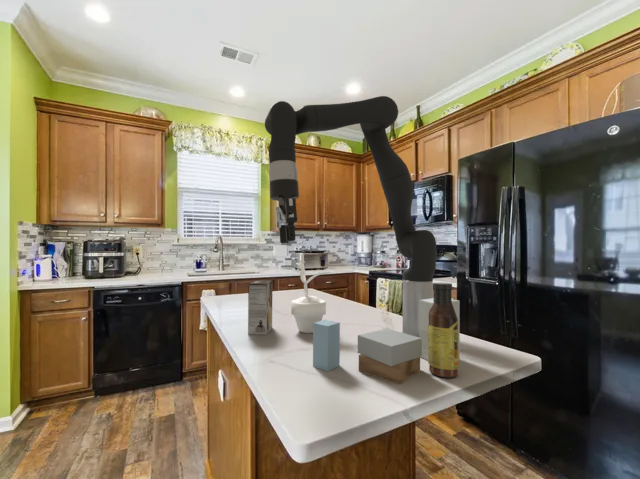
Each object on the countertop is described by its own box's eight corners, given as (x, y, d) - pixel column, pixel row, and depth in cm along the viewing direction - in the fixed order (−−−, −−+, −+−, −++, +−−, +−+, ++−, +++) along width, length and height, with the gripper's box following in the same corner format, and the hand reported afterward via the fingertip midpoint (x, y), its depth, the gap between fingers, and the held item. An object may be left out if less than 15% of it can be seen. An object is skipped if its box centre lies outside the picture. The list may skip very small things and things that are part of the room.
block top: (387, 344, 77) (387, 328, 77) (421, 356, 69) (421, 338, 69) (357, 352, 71) (357, 335, 71) (391, 366, 63) (391, 346, 63)
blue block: (325, 360, 76) (325, 319, 76) (339, 365, 73) (339, 322, 73) (312, 366, 72) (313, 322, 73) (327, 371, 69) (327, 326, 70)
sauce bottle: (461, 380, 65) (461, 285, 66) (430, 377, 66) (430, 284, 67) (454, 368, 72) (454, 281, 72) (426, 366, 73) (426, 281, 73)
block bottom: (381, 360, 77) (381, 344, 77) (420, 371, 71) (420, 353, 71) (358, 373, 70) (358, 355, 70) (399, 386, 63) (399, 366, 63)
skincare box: (442, 352, 82) (442, 296, 83) (461, 360, 77) (461, 299, 77) (417, 357, 79) (418, 298, 79) (436, 365, 73) (436, 302, 74)
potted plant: (285, 334, 98) (286, 255, 99) (297, 325, 110) (298, 254, 110) (324, 337, 95) (324, 255, 96) (332, 328, 106) (333, 254, 107)
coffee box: (253, 327, 107) (254, 280, 107) (272, 327, 107) (273, 280, 107) (247, 334, 98) (248, 283, 98) (267, 334, 98) (268, 283, 98)
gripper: (304, 174, 77) (308, 239, 76) (291, 187, 90) (295, 243, 89) (273, 173, 74) (277, 241, 73) (265, 187, 88) (269, 244, 87)
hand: (287, 242), depth 81 cm, fingers open, 8 cm apart
